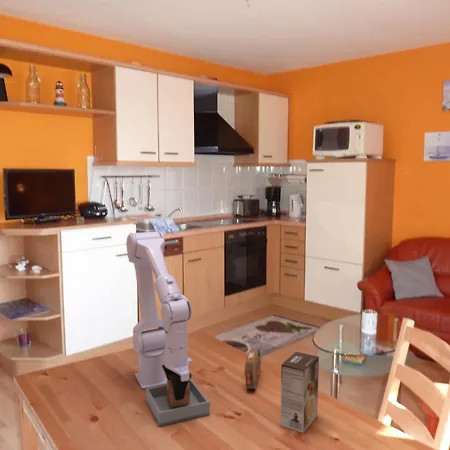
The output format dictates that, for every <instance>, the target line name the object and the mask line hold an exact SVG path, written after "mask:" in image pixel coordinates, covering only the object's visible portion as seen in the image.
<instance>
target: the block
mask: <svg viewBox="0 0 450 450" xmlns="http://www.w3.org/2000/svg"><path fill="white" fill-rule="evenodd" d="M166 385H167V401H168V403H169V405H170V406H171V408H172V407H177V406H182V405H186V404H190V383H189V382H188V384H187V387H186V391H185V395H184V399H181V400H177V401H176V400H175V397H174V391H173V386H172V382H171V380H167V384H166Z"/></svg>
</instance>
